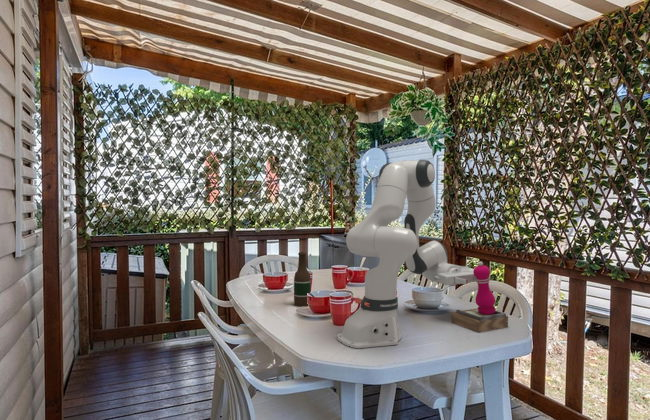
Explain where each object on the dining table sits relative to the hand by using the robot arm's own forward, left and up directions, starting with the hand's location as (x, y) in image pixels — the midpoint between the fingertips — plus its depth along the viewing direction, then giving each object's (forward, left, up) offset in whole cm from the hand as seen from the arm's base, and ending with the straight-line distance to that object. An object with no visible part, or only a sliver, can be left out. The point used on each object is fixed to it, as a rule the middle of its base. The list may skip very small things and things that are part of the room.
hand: (475, 280), depth 170 cm
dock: (0, -2, -17) cm, 17 cm away
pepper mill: (+3, -3, -12) cm, 13 cm away
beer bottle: (-49, +56, -17) cm, 76 cm away
